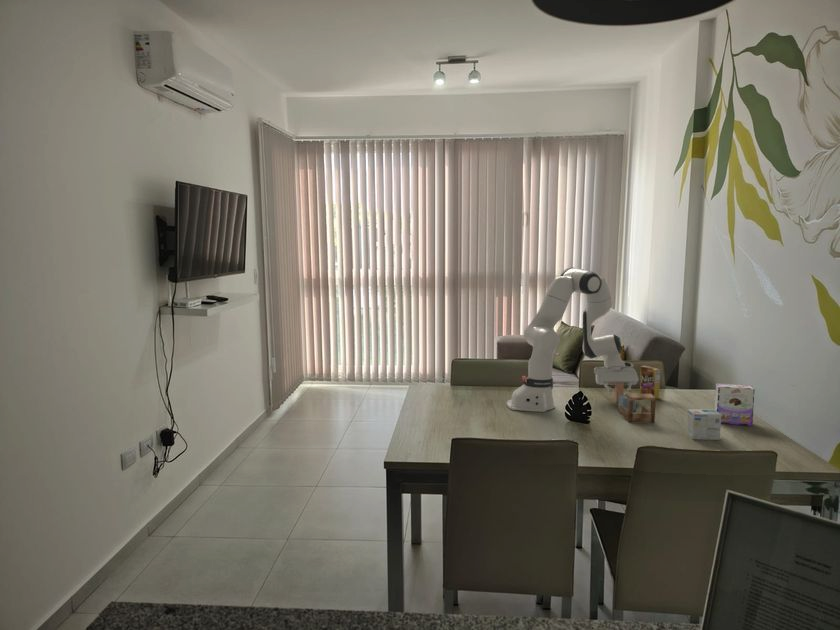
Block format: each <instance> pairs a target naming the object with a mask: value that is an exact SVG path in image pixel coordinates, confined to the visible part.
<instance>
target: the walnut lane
mask: <svg viewBox="0 0 840 630" xmlns="http://www.w3.org/2000/svg"><path fill="white" fill-rule="evenodd" d="M624 395H625V396H626V397H627V398H628V399H629V403H628V409H627V408H626V407H625V406H624V405H620V408H619V414H620V415H621V416H622V417H623V418H624V419H625V420H626V421H627V422H628V423H630V424H631V423H637V424H639V423H645V424H646V423H647V424H648V423H653V424H654V423H655V421H656V403H657V399H656V397H654V396H653V395H652V394H640V393H625V394H624ZM633 400H636V401H650V408H649V407H647V406H646V405H644V404H643V405H641V406H640V409H641V410H640V412H634V411H633Z"/></svg>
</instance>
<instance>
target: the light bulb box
mask: <svg viewBox="0 0 840 630" xmlns="http://www.w3.org/2000/svg"><path fill="white" fill-rule="evenodd" d="M686 420H687V421H686V423H687V424H686V435H687V436H688V437H689V438H690V439H692V440H704V441H705V440H707V441H708V440H710V441H720V440H721V427H722V426H721V425H722V423H721V414H720V413H719V412H717V411H716V410H715V408H714V409H712V408H711V409H710V408H709V409H708V408H707V409H700V408H699V409H698V408H694V409H692V408H688V409H687V419H686Z"/></svg>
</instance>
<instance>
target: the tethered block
mask: <svg viewBox="0 0 840 630" xmlns="http://www.w3.org/2000/svg"><path fill="white" fill-rule="evenodd" d="M624 387H625V386H624V384H622V383H615V385H614V399H613V401H614V402H615V403H617V405H618V406H617V408H618V409H620V405H624V406H625V407H626V408H627V409H628V403H629V399H628V398H627V397H626V396H625V394H624V393H625V392H624ZM636 405H637V400H633V412H636V408H637V407H636Z"/></svg>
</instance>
